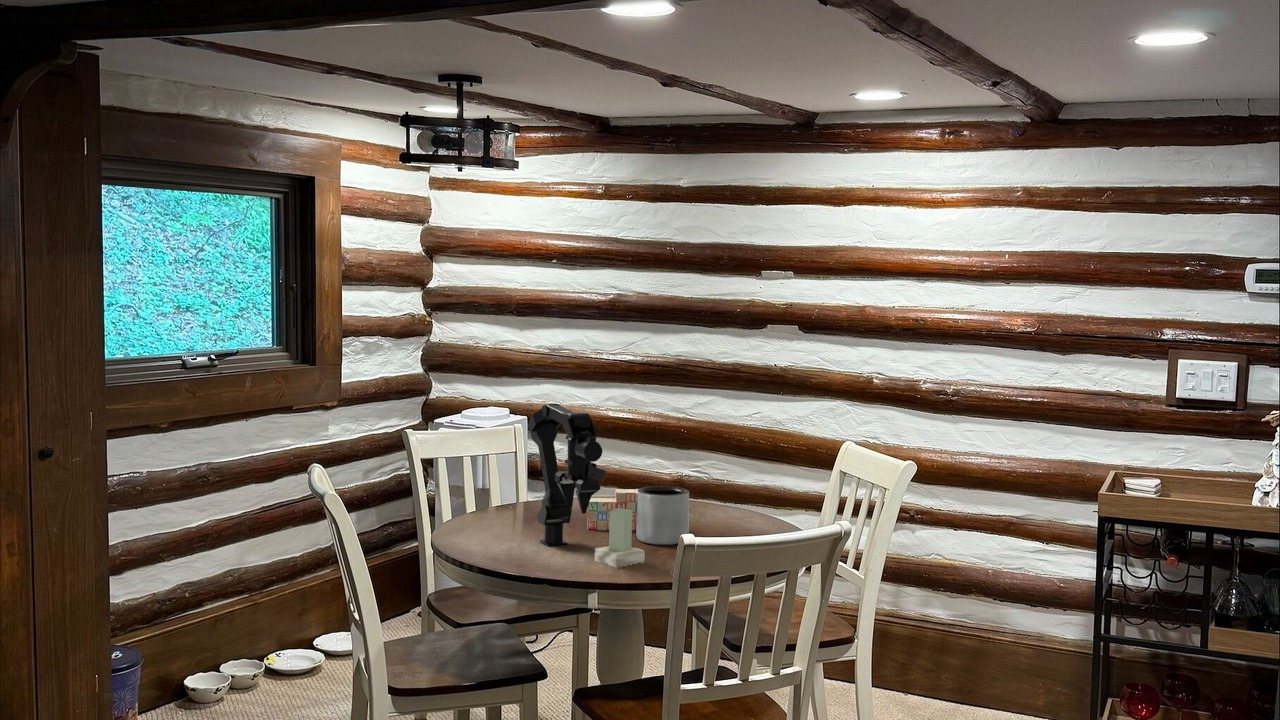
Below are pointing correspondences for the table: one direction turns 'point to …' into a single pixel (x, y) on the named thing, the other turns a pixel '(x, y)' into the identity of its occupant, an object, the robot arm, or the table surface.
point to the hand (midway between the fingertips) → (576, 510)
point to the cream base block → (619, 556)
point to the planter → (662, 514)
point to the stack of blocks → (611, 508)
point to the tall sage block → (620, 529)
